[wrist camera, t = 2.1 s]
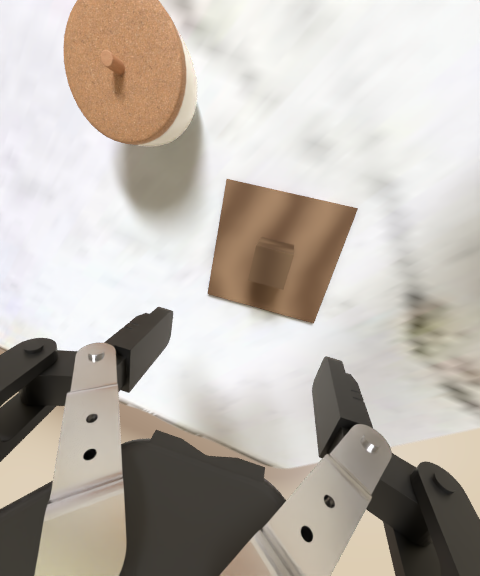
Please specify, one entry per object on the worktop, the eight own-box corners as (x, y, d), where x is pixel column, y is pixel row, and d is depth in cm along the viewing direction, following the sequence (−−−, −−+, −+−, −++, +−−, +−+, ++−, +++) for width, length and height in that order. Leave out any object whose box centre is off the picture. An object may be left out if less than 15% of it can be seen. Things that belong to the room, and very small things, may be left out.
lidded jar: (108, 52, 27) (21, -13, 18) (201, 22, 24) (150, -71, 16) (136, 161, 30) (74, 150, 22) (219, 145, 28) (186, 125, 19)
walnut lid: (355, 207, 28) (371, 212, 22) (312, 318, 34) (317, 344, 28) (229, 179, 29) (214, 176, 24) (210, 290, 35) (194, 309, 30)
